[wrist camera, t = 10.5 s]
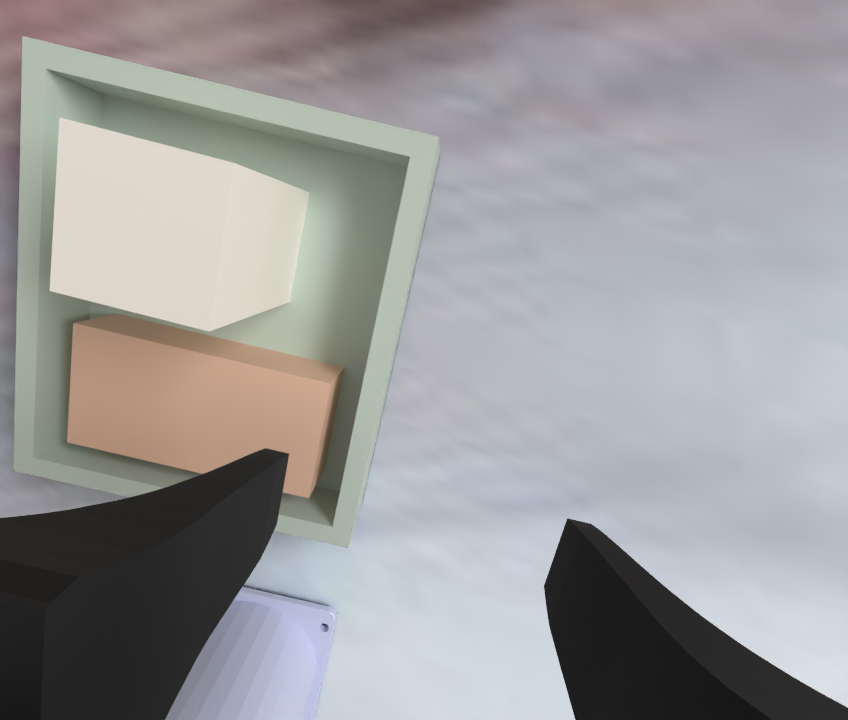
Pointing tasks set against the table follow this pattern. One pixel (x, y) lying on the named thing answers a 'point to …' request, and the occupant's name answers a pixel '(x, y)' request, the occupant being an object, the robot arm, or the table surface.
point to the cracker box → (198, 399)
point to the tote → (273, 329)
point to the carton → (170, 230)
